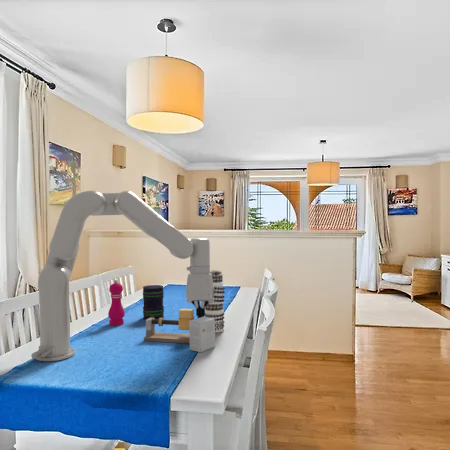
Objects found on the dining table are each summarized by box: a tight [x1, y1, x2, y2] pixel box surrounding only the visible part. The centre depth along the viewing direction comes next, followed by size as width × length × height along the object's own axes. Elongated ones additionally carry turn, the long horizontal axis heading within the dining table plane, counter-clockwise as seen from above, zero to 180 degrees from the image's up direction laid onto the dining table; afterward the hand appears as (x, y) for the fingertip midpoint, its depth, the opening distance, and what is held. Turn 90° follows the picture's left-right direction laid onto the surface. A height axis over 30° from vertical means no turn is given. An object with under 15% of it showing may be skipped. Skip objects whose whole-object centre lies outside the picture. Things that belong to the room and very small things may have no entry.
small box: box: [188, 316, 216, 353], centre depth 145 cm, size 8×6×10 cm
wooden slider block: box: [177, 308, 195, 331], centre depth 155 cm, size 4×5×7 cm
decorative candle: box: [204, 269, 226, 333], centre depth 169 cm, size 9×9×25 cm
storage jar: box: [142, 284, 165, 321], centre depth 192 cm, size 10×10×15 cm
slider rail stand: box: [143, 318, 190, 344], centre depth 156 cm, size 8×22×8 cm, turn 78°
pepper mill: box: [107, 279, 126, 327], centre depth 181 cm, size 7×7×20 cm
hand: (200, 317), depth 154 cm, fingers closed
